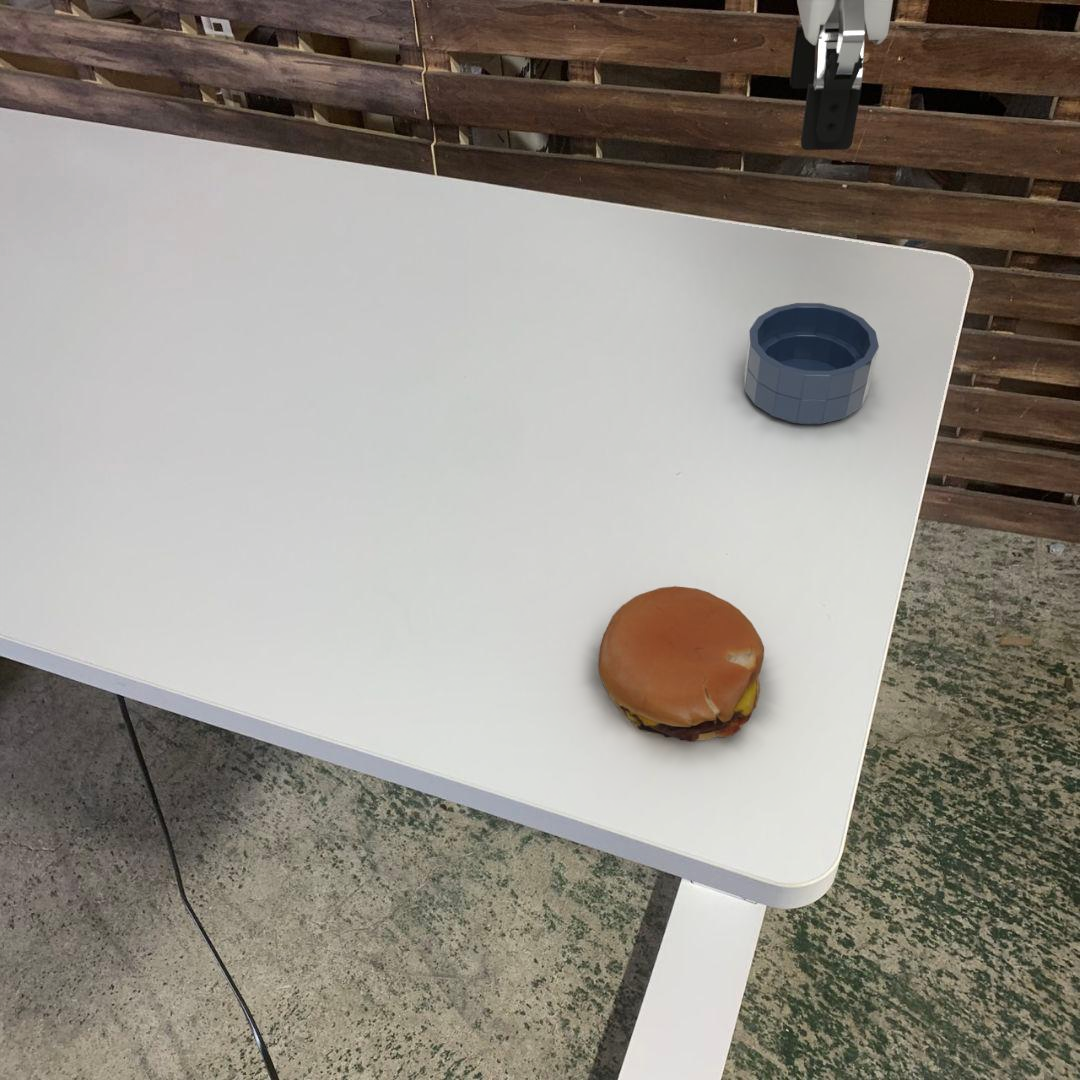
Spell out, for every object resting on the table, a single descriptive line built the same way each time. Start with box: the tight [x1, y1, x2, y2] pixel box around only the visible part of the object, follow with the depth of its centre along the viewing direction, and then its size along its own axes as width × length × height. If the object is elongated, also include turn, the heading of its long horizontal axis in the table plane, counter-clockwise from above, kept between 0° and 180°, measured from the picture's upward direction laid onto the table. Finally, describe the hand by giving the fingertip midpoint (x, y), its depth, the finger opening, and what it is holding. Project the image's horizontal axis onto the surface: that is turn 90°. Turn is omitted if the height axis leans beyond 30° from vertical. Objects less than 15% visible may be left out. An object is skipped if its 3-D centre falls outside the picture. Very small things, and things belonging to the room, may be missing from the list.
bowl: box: [743, 302, 880, 425], centre depth 74 cm, size 9×9×5 cm
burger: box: [597, 585, 765, 743], centre depth 56 cm, size 10×9×5 cm
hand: (818, 115), depth 67 cm, fingers open, 9 cm apart
